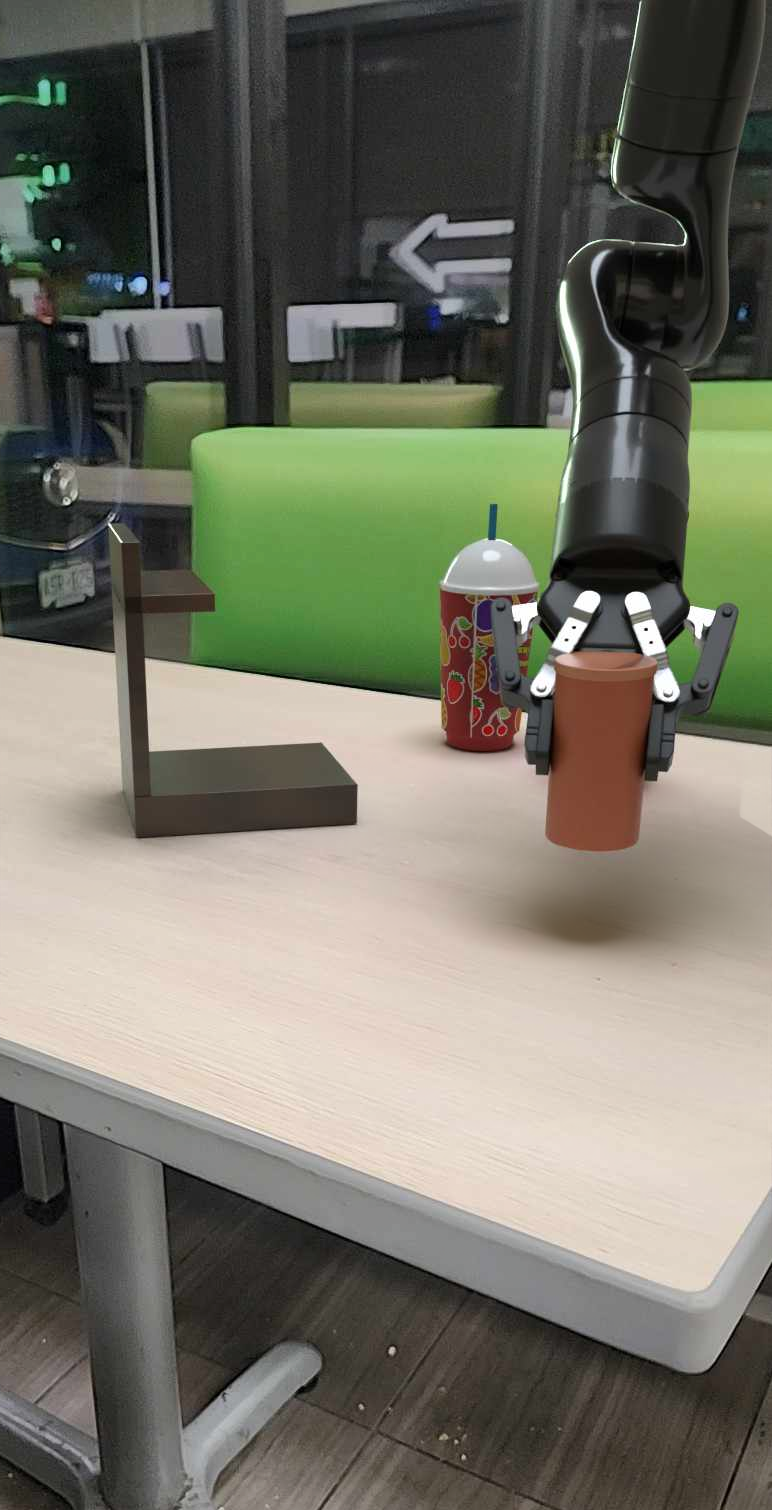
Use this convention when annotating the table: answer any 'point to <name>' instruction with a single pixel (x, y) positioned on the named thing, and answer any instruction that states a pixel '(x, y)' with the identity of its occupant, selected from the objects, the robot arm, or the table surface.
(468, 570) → the smoothie
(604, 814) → the tumbler
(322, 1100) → the table surface
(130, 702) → the stand
